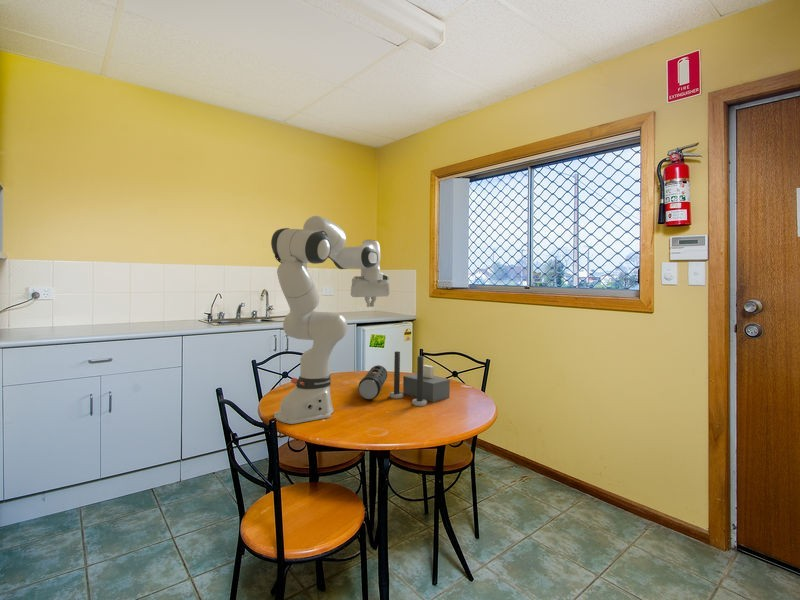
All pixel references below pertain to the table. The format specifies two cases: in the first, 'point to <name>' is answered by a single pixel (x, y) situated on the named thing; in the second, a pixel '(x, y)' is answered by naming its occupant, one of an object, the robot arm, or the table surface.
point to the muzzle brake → (372, 382)
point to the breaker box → (427, 387)
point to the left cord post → (396, 378)
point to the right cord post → (419, 384)
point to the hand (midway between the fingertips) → (370, 306)
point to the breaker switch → (428, 371)
